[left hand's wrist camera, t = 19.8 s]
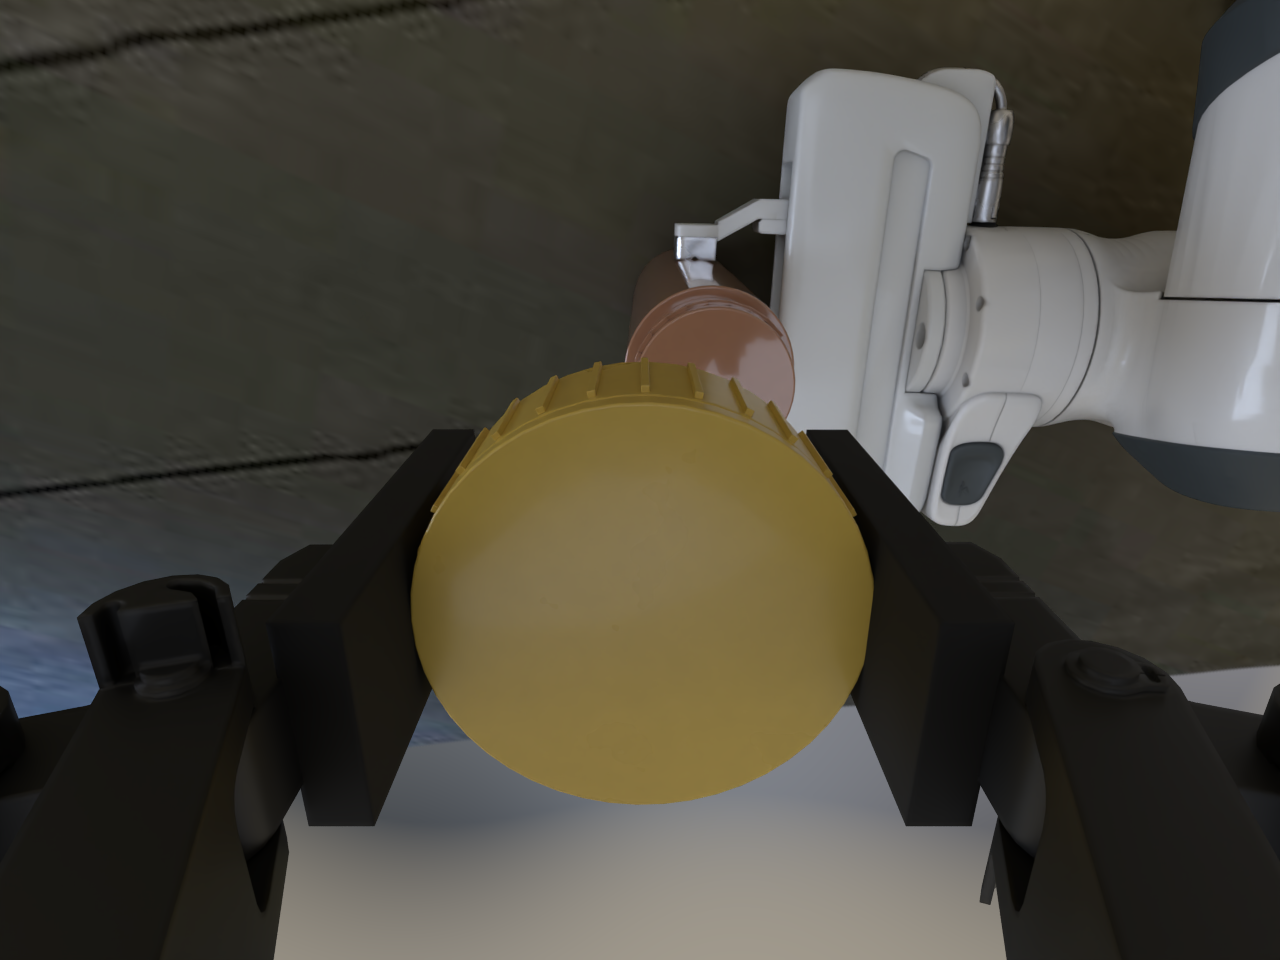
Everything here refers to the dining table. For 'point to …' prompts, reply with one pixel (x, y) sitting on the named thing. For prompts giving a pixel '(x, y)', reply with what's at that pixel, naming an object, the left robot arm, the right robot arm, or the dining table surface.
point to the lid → (642, 587)
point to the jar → (710, 327)
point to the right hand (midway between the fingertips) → (670, 319)
